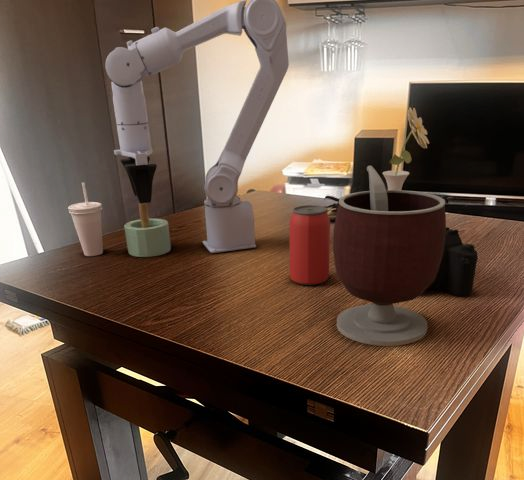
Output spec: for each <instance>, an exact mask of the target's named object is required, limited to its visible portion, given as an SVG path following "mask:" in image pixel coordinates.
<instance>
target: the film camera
mask: <svg viewBox="0 0 524 480" xmlns="http://www.w3.org/2000/svg"><path fill="white" fill-rule="evenodd" d="M478 259H479V257H478V251H477V250H476V249H475V245H474V244H471V243H465V244H464V243H463V240H462V238H461V236H460V234H459V230H458V229H451V228H450V226H446V236H445V244H444V251H443V256H442V260H441V263H440V267H439V270H438V273H437V275H436V277H435V280H434V281H433V283H432V284H431V285H430V286H429V287H428V288H427V289H430V290H438V289H439V290H442V291H444V292H446V293H448V294H450V295H452V296H454V297H468V296H471V294H472V292H473V291H474V289H473V288H474V284H475V283H474V282H475V276H476V269H477V264H478Z"/></svg>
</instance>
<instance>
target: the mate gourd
mask: <svg viewBox="0 0 524 480" xmlns="http://www.w3.org/2000/svg"><path fill="white" fill-rule="evenodd" d="M366 171H367V172H368V183H369V190H365V191H358V192H353V193H348V194H346V195H345V194H344V195H343V196H341V197H339V198H340V199H339V206H338V210H337V214H336V216H335V219H334V220H335V222H334V225H333V235H332V237H333V239H332V240H333V241H332V242H333V243H332V252H333V261H334V268H335V272H336V276H337V278H338V279H339V281H340V283H341V284H342V285H343V286H344V288H345V289H346V290H347V292H348V293H349V294H350V295H351V296H353V297H354V298H357V299H360V300H363V301H366V302H369V304H362V305H356V306H352V307H350V308H347V309H344V310H343V311H341V312H340V313H339V314H338V316H337V318H336V329H337V330H338V332H339V333H340V334H341V335H343V336H344V337H345V338H348V339H350V340H352V341H355V342H357V343H361V344H365V345H369V346H370V345H371V346H377V347H378V346H379V347H395V346H403V345H409V344H412V343H416V342H418V341H420V340H421V339H422V338H424V337H425V336H426V335H427V331H428V321H427V320H426V318H425V316H423V315H421V314H420V313H418V312H416V311H414V310H412V309H409V308H406V307H403V306H398V305H395V304H398V303H399V304H400V303H405V302H409V301H413V300H415V299H418V297H420V296H421V295H422V294H423V293H424V292H425V291H426V290H427V289H429V288H428V287H429V286H430V285H431V284H432V283H433V281H434V280H435V277H436V275H437V273H438V270H439V267H440V263H441V260H442V256H443V251H444V244H445V236H446V227H447V217H446V216H447V215H446V207H445V206H446V200H445V199H444V198H442V197H440V196H438V195H435V194H432V193H429V192H428V193H427V192H421V191H414V190H403V189H401V190H388V189H387V188H386V185H385V183H384V181H383V179H382V178H381V176H380V175H379V172H377V170H376V169H375V168H374V167H373V165H368V166H366ZM371 303H372V304H371Z"/></svg>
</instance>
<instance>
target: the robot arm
mask: <svg viewBox="0 0 524 480" xmlns="http://www.w3.org/2000/svg"><path fill="white" fill-rule="evenodd" d="M150 29H151V30H150V31H151V33H150V34H147V35H146V36H144V37H142V38H140V39H137V40H136V41H134V40H132V39H131V40H128V41H127V42H126V45H127V47H123V46H117V47H115V48H114V49H113V50H112V51H110V52H109V53H108V55H107V57H106V59H105V66H104V67H105V71H106V75H107V76H108V78H109V79H110V80H111V81H110V84H111V92H112V103H113V110H114V116H115V123H116V129H117V130H116V131H117V136H118V137H117V138H118V143H119V149H113V152H114V153H113V154H114V155H115V156H123V157H127V158H121V159H119V161H120V162H121V164H122V166H123V168H124V169H125V171H126V174H127V177H128V179H129V182H130V187H131V189H132V192H133V194H134V196H135V197H136V198H137V200H138V203H140V204H141V203H147V204H150V203H152V195H153V184H154V183H153V181H154V177H155V173H156V171H157V168H158V167H157V166H158V165H157V164H156V163H150V160H151V157H150V155H151V154H153V152H154V151H153V147H152V142H151V135H150V127H149V118H148V110H147V104H146V103H147V102H146V96H145V93H144V86H143V78H144V76H145V77H147V78H150V77H152V76H154V75H156V74H158V73H161V72H163V71H165V70H167V69H170V68H172V67H173V66H176V65H178V64H180V63H181V62H182V57H183V55H184V52H185V51H187V50H190V49H192V48H194V47H197V46H199V45H201V44H204V43H206V42H208V41H211V40H213V39H215V38H219V37H220V36H222V35H233V36H238V37H241V36H242V34H243V32H244V33H245V35H246V37H247V38H248V39H249V41H250V43H251V44H252V45H253V46H254V50H255V53H256V57H257V60H258V63H259V69H258V70H257V73H256V75H255V77H254V80H253V82H252V84H251V87H250V89H249V91H248V93H247V95H246V98H245V100H244V102H243V104H242V107H241V109H240V111H239V114H238V116H237V118H236V120H235V123H234V125H233V127H232V130H231V132H230V134H229V136H228V138H227V140H226V143H225V145H224V147H223V149H222V151H221V153H220V155H219V157H218V159H217V160H216V161H217V162H216V163H215V164H214V165H213V166H211V167H210V168H209V169H208V170H207V172H206V175H205V182H204V188H203V189H204V194H205V196H206V199H204V201H203V203H204V216H205V228H206V229H205V230H206V240H203V241H202V244H203V246H204V247H205V248H206V249H207V250H208V252H209V253H210V254H217V253H218V254H219V253H224V252H232V251H240V250H248V249H256V248H257V245H256V237H255V235H256V234H255V233H256V232H255V214H254V208H253V205H252V203H251V201H250V200H241V197H239V196H238V191H239V179H240V177H241V175H242V172H243V169H244V166H245V163H246V160H247V158H248V157H249V154H250V152H251V149H252V148H253V146H254V142H255V141H256V139H257V137H258V134H259V132H260V130H261V128H262V126H263V124H264V122H265V119H266V117H267V115H268V113H269V110H270V108H271V106H272V104H273V102H274V101H275V97H276V95H277V93H278V91H279V89H280V87H281V85H282V82H283V81H284V79H285V76H286V74H287V72H288V69H289V65H290V64H289V63H290V62H289V61H290V60H289V51H288V40H287V39H288V36H287V22H286V19H285V15H284V14H283V11H282V9H281V6H280V5H279V3H278V1H277V0H249V1H248V0H240V1H236V2H234V3H231V4H229V5H226V6H223V7H221V8H219V9H218V10H215V11H214V12H212V13H210V14H207V15H206V16H205V17H203V18H200V19H199V20H196V21H195V22H193V23H190V24H189V25H187V26H185V27H183V28H181V29H179V30H178V31H174V30H172V29H170V28H168V27H162V28H161V29H160V27H158V26H155V27H153V28H150ZM133 41H134V42H133Z"/></svg>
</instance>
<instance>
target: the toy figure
mask: <svg viewBox="0 0 524 480" xmlns="http://www.w3.org/2000/svg"><path fill="white" fill-rule="evenodd" d="M340 198H341V197H337V196H334V195H331V194H330V195H329V193H327V194H326V195H325V197H324V198H323V200H326V199H327V200H331V201H333V203H332V204H329V205H327V206H325V205H322V206H323V207H326V208H327V213H328V216H329V217H336V214H337V210H338V206H339V199H340ZM335 202H336V203H335ZM329 219H330V223H335V219H332V218H329Z"/></svg>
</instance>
